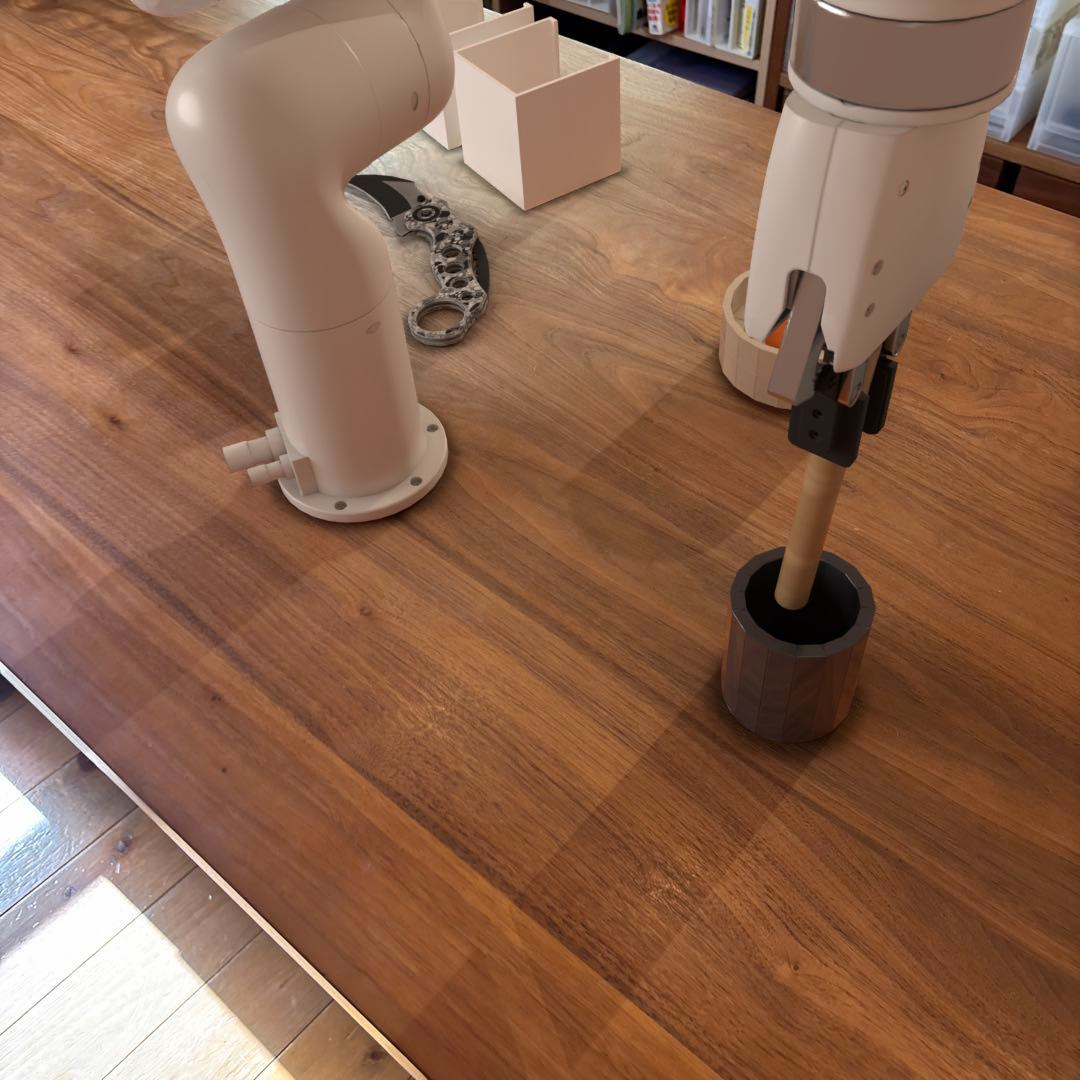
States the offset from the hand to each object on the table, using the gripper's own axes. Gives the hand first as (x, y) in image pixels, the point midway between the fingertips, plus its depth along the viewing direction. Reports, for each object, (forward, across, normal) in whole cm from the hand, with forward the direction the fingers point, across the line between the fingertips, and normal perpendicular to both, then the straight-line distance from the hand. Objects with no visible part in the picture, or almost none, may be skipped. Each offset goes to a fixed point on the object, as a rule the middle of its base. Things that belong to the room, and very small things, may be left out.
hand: (835, 434), depth 50 cm
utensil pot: (+21, 0, 0) cm, 21 cm away
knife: (+21, -22, -50) cm, 58 cm away
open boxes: (+21, -41, -56) cm, 73 cm away
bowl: (+21, -27, -15) cm, 37 cm away
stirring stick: (+12, 0, -1) cm, 12 cm away
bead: (+19, -26, -16) cm, 36 cm away
